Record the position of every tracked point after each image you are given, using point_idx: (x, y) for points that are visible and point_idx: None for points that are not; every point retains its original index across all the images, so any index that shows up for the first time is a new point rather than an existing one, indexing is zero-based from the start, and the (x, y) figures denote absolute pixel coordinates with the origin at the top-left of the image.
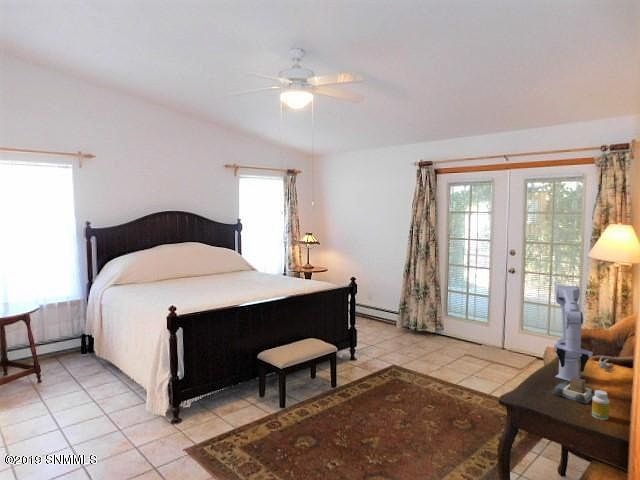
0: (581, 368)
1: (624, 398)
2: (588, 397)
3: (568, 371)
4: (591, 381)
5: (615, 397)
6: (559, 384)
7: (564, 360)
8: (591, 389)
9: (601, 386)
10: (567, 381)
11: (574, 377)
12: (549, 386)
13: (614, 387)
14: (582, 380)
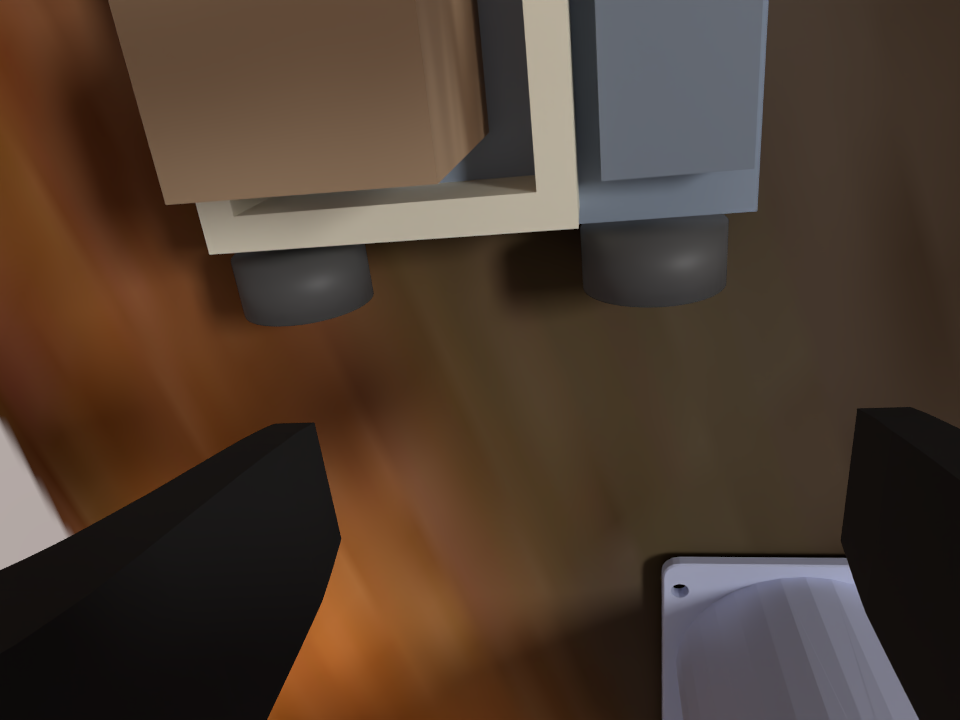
0: (221, 459)
1: (55, 488)
2: None
3: (785, 689)
4: (518, 712)
5: (113, 445)
6: (746, 57)
7: (927, 711)
8: (242, 293)
9: (377, 647)
10: (658, 302)
11: (409, 166)
12: (935, 88)
13: (284, 701)
14: (180, 115)
